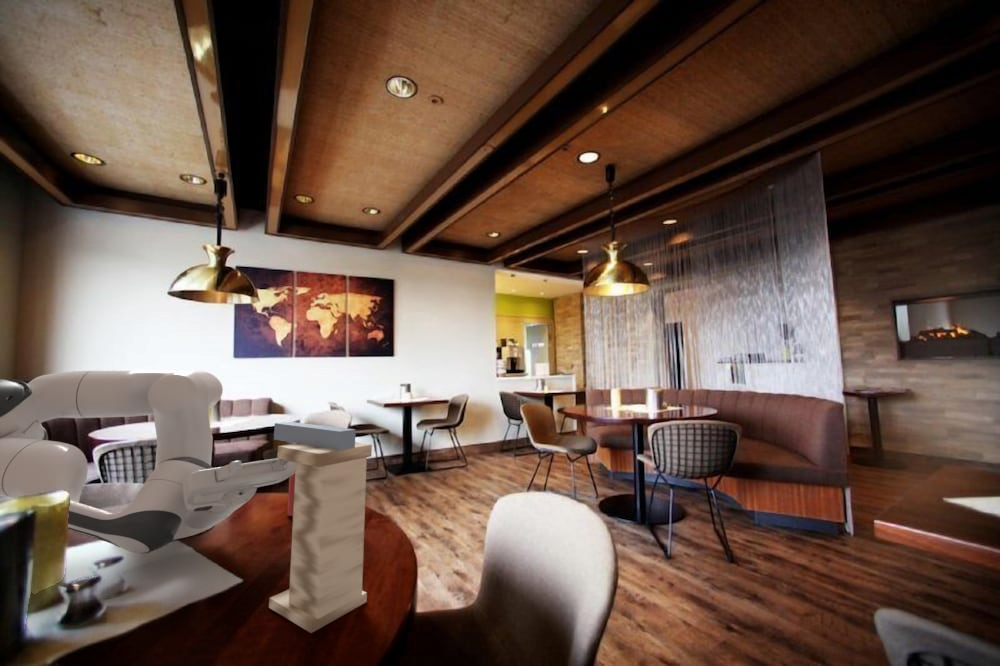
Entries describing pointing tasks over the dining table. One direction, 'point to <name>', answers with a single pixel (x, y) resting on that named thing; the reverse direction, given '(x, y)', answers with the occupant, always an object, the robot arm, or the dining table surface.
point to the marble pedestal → (325, 534)
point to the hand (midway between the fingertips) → (263, 460)
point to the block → (315, 435)
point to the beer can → (291, 495)
